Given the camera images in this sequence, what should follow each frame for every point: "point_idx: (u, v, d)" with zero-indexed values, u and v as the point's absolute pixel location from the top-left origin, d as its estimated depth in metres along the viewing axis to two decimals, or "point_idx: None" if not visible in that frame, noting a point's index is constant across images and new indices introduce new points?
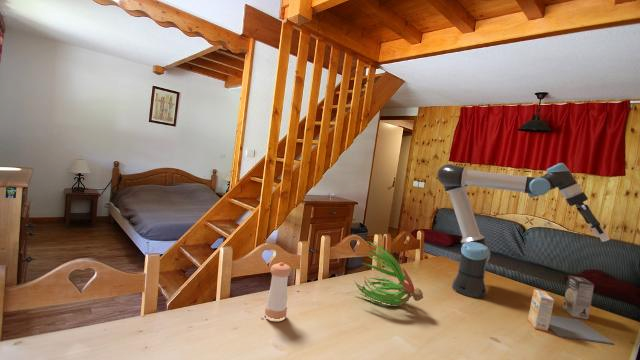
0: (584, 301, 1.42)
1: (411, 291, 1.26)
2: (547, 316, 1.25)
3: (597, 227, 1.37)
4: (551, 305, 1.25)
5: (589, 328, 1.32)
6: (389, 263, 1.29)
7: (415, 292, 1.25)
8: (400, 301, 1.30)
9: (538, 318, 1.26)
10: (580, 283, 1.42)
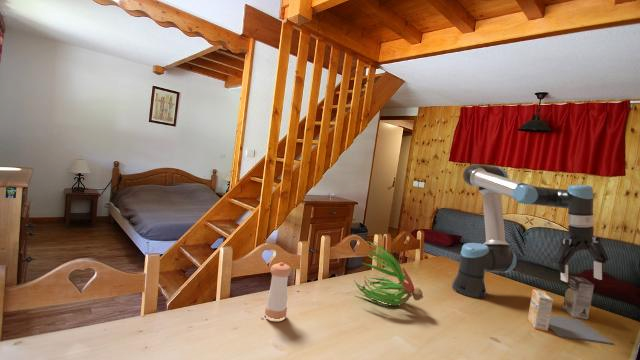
0: (584, 301, 1.42)
1: (411, 291, 1.26)
2: (546, 316, 1.25)
3: (560, 265, 1.25)
4: (550, 305, 1.25)
5: (589, 328, 1.32)
6: (389, 263, 1.29)
7: (415, 292, 1.25)
8: (400, 301, 1.31)
9: (538, 318, 1.26)
10: (580, 283, 1.42)
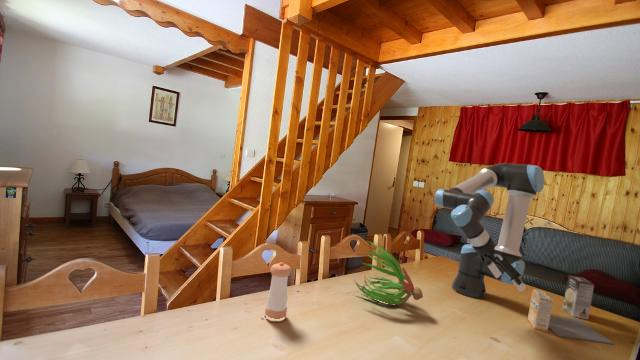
0: (584, 301, 1.42)
1: (411, 290, 1.27)
2: (546, 316, 1.25)
3: None
4: (550, 305, 1.25)
5: (589, 328, 1.32)
6: (389, 263, 1.29)
7: (415, 291, 1.26)
8: (400, 300, 1.31)
9: (538, 318, 1.26)
10: (580, 283, 1.42)
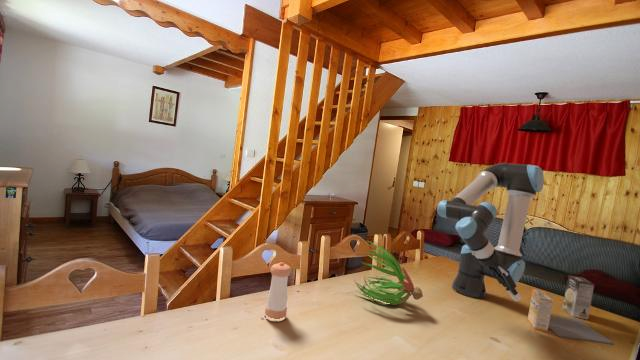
0: (584, 301, 1.42)
1: (411, 290, 1.27)
2: (546, 316, 1.25)
3: None
4: (550, 305, 1.25)
5: (589, 328, 1.32)
6: (389, 262, 1.29)
7: (415, 291, 1.26)
8: (400, 300, 1.32)
9: (538, 318, 1.26)
10: (580, 283, 1.42)
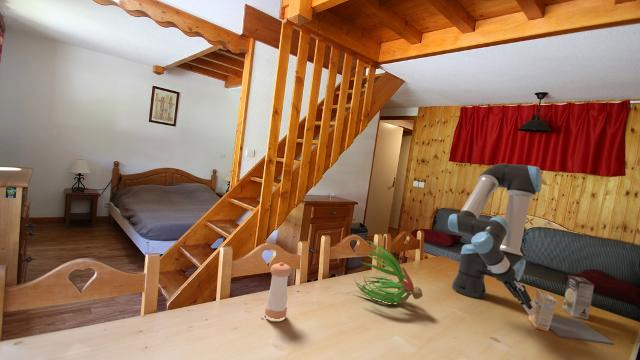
0: (584, 301, 1.42)
1: (411, 289, 1.27)
2: (549, 317, 1.25)
3: None
4: (554, 306, 1.25)
5: (589, 328, 1.32)
6: (389, 262, 1.30)
7: (415, 290, 1.27)
8: (400, 299, 1.32)
9: (540, 318, 1.26)
10: (580, 283, 1.42)
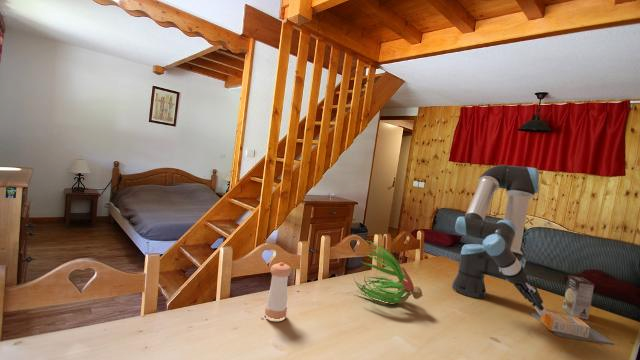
0: (584, 301, 1.42)
1: (411, 289, 1.28)
2: (566, 330, 1.24)
3: None
4: (580, 335, 1.23)
5: None
6: (389, 262, 1.30)
7: (415, 290, 1.27)
8: (399, 299, 1.32)
9: (564, 323, 1.24)
10: (580, 283, 1.42)
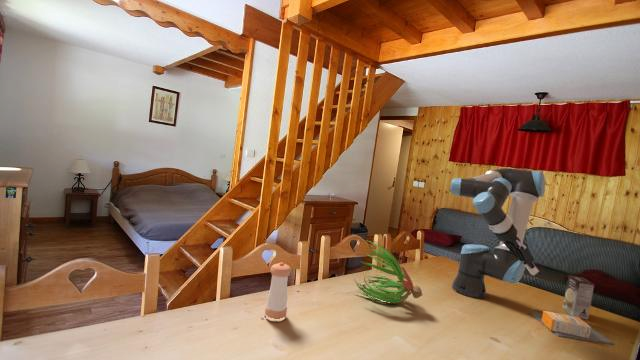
0: (584, 301, 1.42)
1: (410, 289, 1.28)
2: (568, 331, 1.24)
3: None
4: (581, 335, 1.23)
5: None
6: (389, 261, 1.31)
7: (414, 290, 1.27)
8: (399, 299, 1.33)
9: (565, 323, 1.24)
10: (580, 283, 1.42)
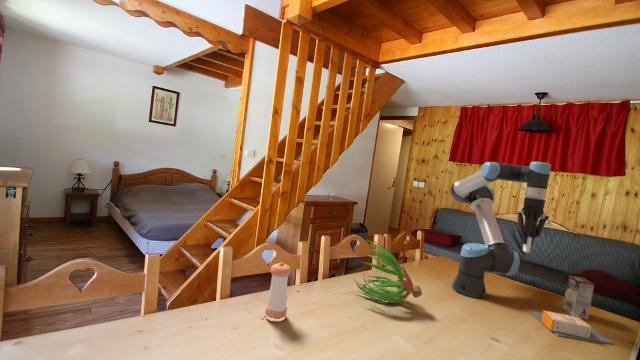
0: (584, 301, 1.42)
1: (410, 288, 1.29)
2: (568, 331, 1.24)
3: (523, 236, 1.41)
4: (581, 335, 1.23)
5: None
6: (389, 261, 1.31)
7: (414, 289, 1.28)
8: (399, 298, 1.33)
9: (565, 323, 1.24)
10: (580, 283, 1.42)
